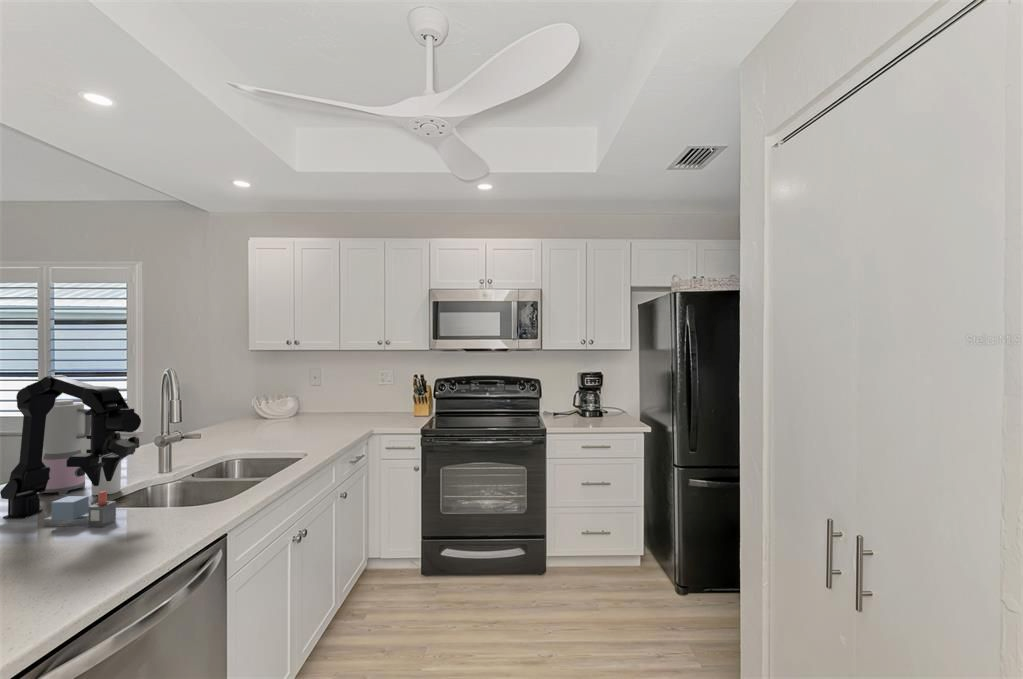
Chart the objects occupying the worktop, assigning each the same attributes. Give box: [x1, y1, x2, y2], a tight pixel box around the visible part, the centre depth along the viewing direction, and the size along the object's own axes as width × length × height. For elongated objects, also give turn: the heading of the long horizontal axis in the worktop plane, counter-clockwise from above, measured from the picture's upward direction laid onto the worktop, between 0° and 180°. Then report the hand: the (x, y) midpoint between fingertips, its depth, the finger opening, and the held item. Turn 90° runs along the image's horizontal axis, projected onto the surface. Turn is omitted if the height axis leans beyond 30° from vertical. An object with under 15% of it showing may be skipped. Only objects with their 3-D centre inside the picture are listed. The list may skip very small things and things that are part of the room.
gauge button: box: [97, 491, 108, 505], centre depth 144 cm, size 2×2×5 cm
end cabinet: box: [87, 500, 117, 529], centre depth 144 cm, size 4×5×6 cm
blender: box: [39, 399, 91, 496], centre depth 174 cm, size 16×12×32 cm
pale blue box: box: [50, 495, 90, 520], centre depth 144 cm, size 6×5×5 cm
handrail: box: [43, 515, 88, 527], centre depth 144 cm, size 13×2×2 cm, turn 93°
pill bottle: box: [90, 460, 122, 496], centre depth 173 cm, size 8×8×15 cm
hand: (102, 483), depth 144 cm, fingers open, 4 cm apart
